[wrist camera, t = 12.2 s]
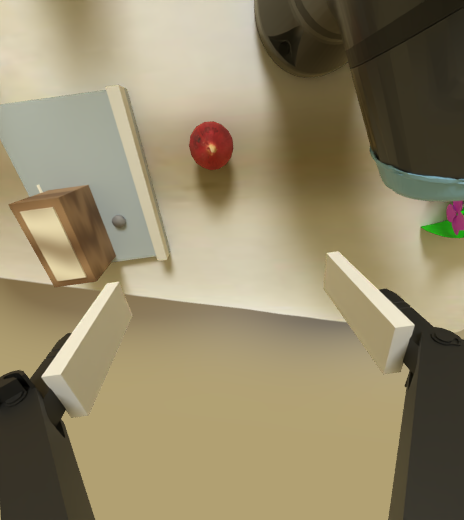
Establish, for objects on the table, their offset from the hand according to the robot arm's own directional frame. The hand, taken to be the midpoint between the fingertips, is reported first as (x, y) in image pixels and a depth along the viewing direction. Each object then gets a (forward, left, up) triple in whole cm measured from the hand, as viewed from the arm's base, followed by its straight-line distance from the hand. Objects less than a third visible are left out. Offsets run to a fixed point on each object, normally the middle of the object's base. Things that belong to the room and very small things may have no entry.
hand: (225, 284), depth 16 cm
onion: (-7, 0, -27) cm, 28 cm away
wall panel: (-3, -19, -27) cm, 33 cm away
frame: (+2, -22, -26) cm, 34 cm away
